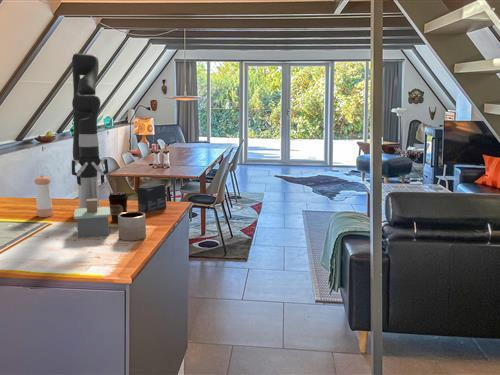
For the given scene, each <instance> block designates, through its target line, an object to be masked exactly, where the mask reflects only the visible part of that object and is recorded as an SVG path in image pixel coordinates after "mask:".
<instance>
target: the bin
mask: <svg viewBox="0 0 500 375" xmlns="http://www.w3.org/2000/svg"><path fill="white" fill-rule="evenodd" d="M76 230H77V238H78V239H79V238H91V237H92V238H93V237H94V238H95V237H105V236H109V231H110V230H109V217H101V218H85V219H76Z"/></svg>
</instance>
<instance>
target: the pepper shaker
mask: <svg viewBox="0 0 500 375" xmlns="http://www.w3.org/2000/svg"><path fill="white" fill-rule="evenodd" d="M33 183H34V184H35V185H36V199H35V200H36V208H35V209H36V212H35V213H36V217H37V216H39V217H38V218H48V216H49V217H51V216H54V208H53V205H52V203H53V202H52V201H53V200H52V197H51V193H50V192H51V191H50V183H51V178H50V177H49V176H45V175H43V174H41V175H40V176H37V177H35V178H34V182H33Z"/></svg>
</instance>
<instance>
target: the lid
mask: <svg viewBox="0 0 500 375" xmlns="http://www.w3.org/2000/svg"><path fill="white" fill-rule="evenodd" d="M101 217H108V218H111V213H110V206H101V207H100V206H99V207H97V198H96V199H87V208H79V207H78V208H75V209H74V213H73V219H74V220H77V219H85V218H101Z"/></svg>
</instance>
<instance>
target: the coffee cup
mask: <svg viewBox="0 0 500 375" xmlns="http://www.w3.org/2000/svg"><path fill="white" fill-rule="evenodd" d="M128 198H129V196H128V195H127V192H125V191H116V192H110V194H109V195H108V201H109V207H110V218H111V222H112V223H118V215H119V214H121V213H124V212H128V210H127V209H128Z"/></svg>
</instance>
